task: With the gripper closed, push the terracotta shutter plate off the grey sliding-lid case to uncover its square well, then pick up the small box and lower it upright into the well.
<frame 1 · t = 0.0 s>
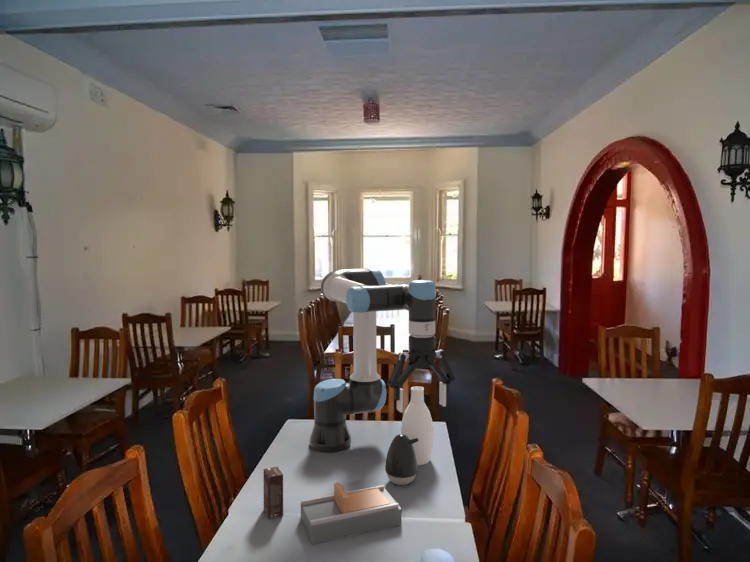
hand: (421, 408, 151), 28 cm above the table, fingers open, 13 cm apart
hand bell: (412, 439, 199), on the table
shutter: (361, 494, 144), point 7 cm above the table, slide at 0.0 cm
pump dispenser: (401, 481, 166), on the table
grey sliding-lid case: (346, 522, 143), on the table
box: (273, 513, 148), on the table
bottle: (417, 460, 181), on the table
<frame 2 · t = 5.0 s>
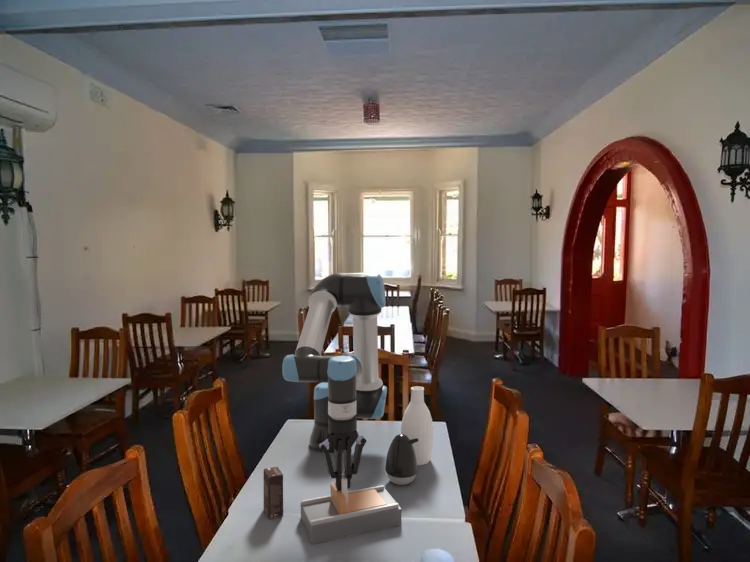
hand: (343, 500, 142), 6 cm above the table, fingers closed
shutter: (358, 494, 143), point 7 cm above the table, slide at 1.0 cm, touching gripper
everything else where it was.
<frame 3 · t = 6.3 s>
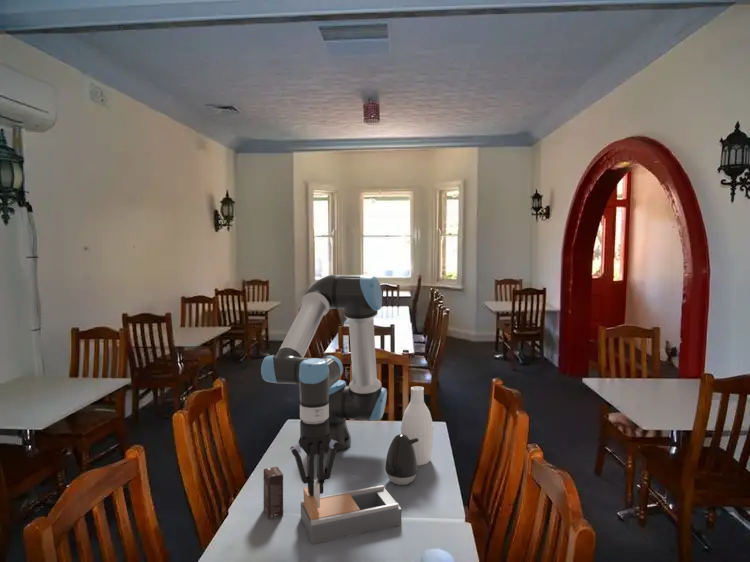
hand: (315, 505, 139), 6 cm above the table, fingers closed
shutter: (331, 500, 141), point 7 cm above the table, slide at 8.6 cm, touching gripper
everything else where it was.
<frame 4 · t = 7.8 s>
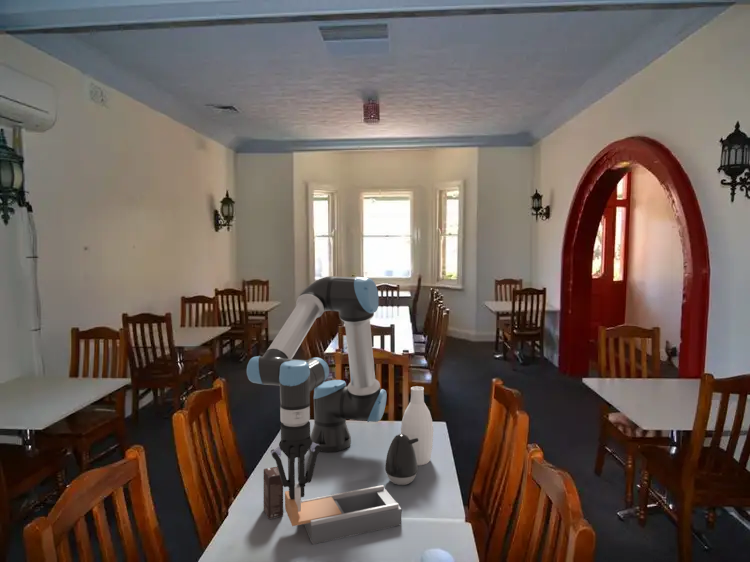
hand: (297, 509, 137), 6 cm above the table, fingers closed
shutter: (312, 503, 139), point 7 cm above the table, slide at 13.7 cm, touching gripper
everything else where it was.
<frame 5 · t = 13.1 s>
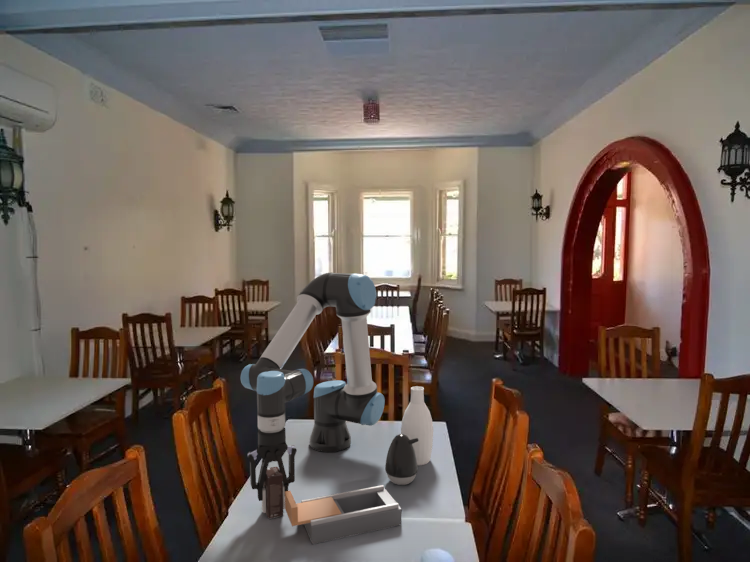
hand: (273, 508, 147), 1 cm above the table, fingers closed on box, 4 cm apart
shutter: (312, 503, 139), point 7 cm above the table, slide at 13.7 cm
box: (273, 513, 148), on the table, touching gripper
everything else where it was.
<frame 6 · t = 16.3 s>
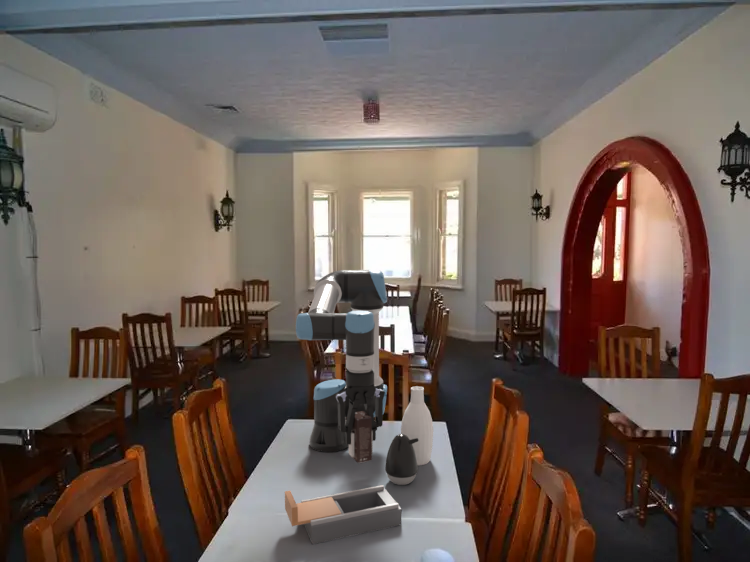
hand: (360, 453, 142), 19 cm above the table, fingers closed on box, 4 cm apart
box: (361, 458, 143), point 17 cm above the table, touching gripper
everything else where it was.
when the fingers open (4 cm above the table, at t = 19.4 s): box drops 2 cm, resting in grey sliding-lid case.
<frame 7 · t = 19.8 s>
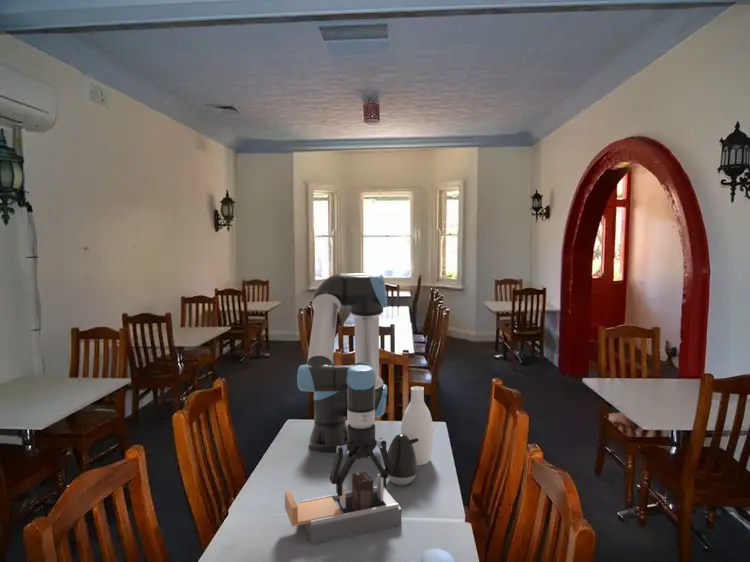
hand: (361, 502, 144), 5 cm above the table, fingers open, 10 cm apart
box: (362, 519, 144), resting in grey sliding-lid case
everything else where it was.
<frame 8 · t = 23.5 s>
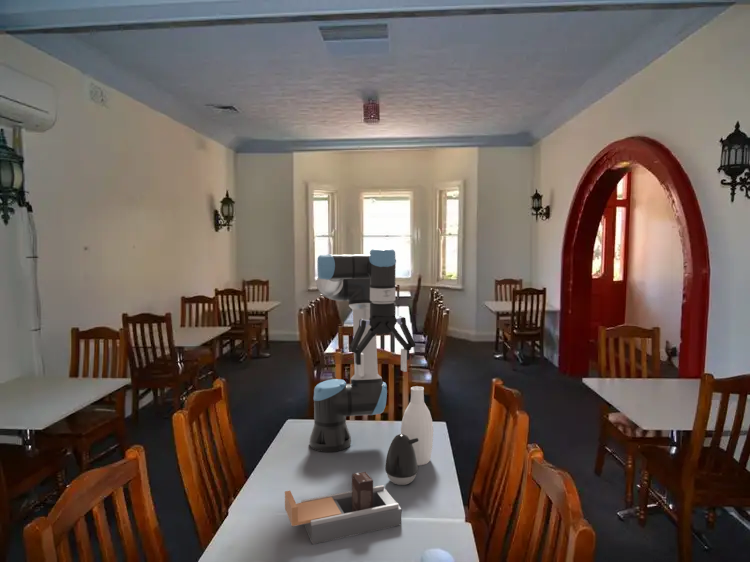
hand: (382, 373, 156), 37 cm above the table, fingers open, 13 cm apart
nothing on the table moved.
at the end: box 0.1 cm from the target spot on the grey sliding-lid case, point 0.0 cm above the grey sliding-lid case's base; shutter slide at 13.7 cm; box tilted 0° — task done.
